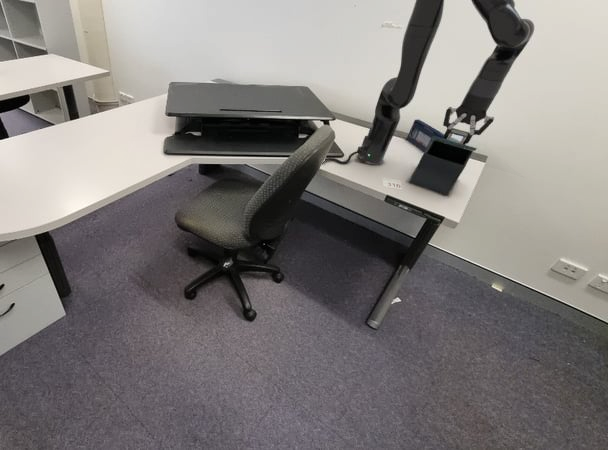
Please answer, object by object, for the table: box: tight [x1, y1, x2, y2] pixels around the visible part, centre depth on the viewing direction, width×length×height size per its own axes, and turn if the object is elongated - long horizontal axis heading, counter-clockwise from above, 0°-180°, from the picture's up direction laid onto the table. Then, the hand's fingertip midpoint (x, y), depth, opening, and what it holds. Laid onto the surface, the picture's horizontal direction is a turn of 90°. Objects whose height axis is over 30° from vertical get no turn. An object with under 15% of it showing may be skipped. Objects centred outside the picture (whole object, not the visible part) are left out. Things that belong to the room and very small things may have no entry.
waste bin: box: [408, 140, 474, 197], centre depth 126 cm, size 16×14×13 cm
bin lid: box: [432, 127, 478, 152], centre depth 119 cm, size 16×14×5 cm
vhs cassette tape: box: [406, 119, 445, 152], centre depth 148 cm, size 18×3×10 cm, turn 11°
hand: (454, 141), depth 116 cm, fingers closed on bin lid, 5 cm apart
